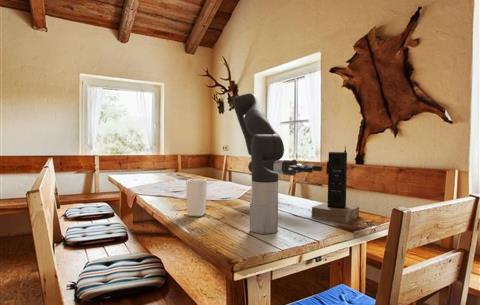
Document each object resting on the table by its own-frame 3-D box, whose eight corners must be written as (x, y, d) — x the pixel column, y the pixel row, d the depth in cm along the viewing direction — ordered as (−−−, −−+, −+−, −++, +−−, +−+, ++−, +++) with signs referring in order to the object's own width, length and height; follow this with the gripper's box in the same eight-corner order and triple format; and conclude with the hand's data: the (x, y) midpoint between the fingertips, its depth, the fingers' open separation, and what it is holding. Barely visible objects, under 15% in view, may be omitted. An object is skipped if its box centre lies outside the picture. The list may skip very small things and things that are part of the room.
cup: (202, 218, 119) (202, 181, 119) (185, 217, 121) (185, 180, 120) (207, 213, 126) (207, 179, 126) (191, 212, 128) (191, 178, 127)
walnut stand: (345, 223, 113) (345, 212, 113) (311, 216, 123) (311, 207, 122) (358, 216, 124) (359, 206, 123) (327, 211, 133) (327, 202, 133)
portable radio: (324, 207, 123) (325, 146, 122) (327, 204, 128) (328, 146, 127) (344, 209, 119) (345, 146, 118) (346, 206, 125) (347, 146, 124)
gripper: (276, 159, 133) (309, 161, 123) (293, 158, 144) (325, 159, 133) (276, 176, 134) (308, 179, 123) (293, 173, 144) (324, 176, 133)
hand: (317, 169), depth 128 cm, fingers open, 8 cm apart
